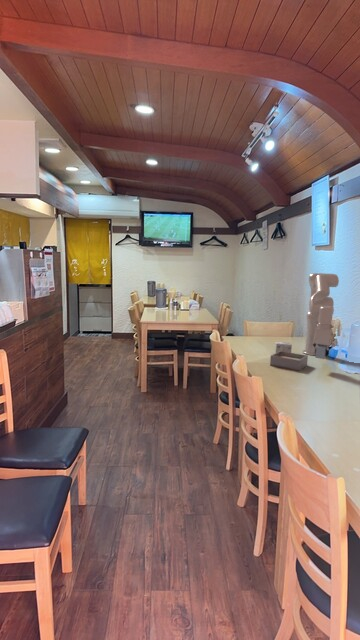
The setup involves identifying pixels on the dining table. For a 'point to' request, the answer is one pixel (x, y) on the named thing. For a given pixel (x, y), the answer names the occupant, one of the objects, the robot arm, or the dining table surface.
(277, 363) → the tote
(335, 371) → the dining table surface
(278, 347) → the light bulb box
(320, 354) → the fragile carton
